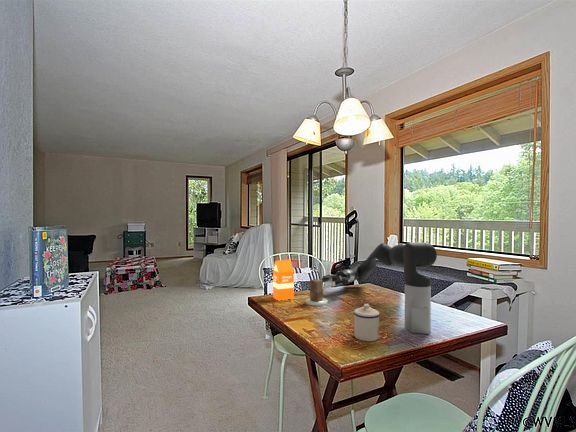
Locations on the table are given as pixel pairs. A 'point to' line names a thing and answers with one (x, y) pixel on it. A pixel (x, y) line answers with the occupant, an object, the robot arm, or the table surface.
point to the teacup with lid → (366, 323)
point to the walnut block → (316, 290)
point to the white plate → (316, 302)
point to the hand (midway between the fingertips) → (328, 281)
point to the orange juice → (283, 280)
